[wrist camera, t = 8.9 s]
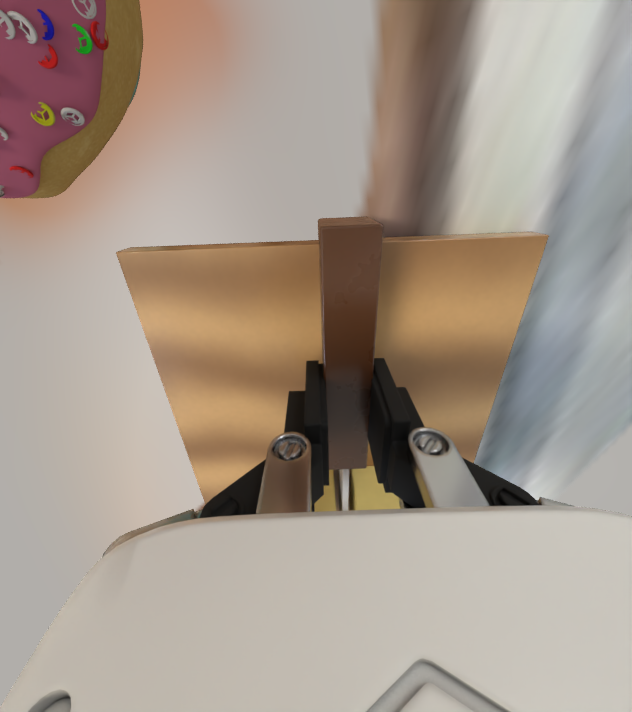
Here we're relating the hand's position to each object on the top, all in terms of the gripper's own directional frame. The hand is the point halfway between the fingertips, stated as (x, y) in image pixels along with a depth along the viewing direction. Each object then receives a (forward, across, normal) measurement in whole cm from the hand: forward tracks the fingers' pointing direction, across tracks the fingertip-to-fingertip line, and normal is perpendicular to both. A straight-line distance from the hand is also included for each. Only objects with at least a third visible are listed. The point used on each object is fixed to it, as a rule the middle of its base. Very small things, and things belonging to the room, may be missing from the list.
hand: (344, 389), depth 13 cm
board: (+2, 0, +5) cm, 6 cm away
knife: (+1, 0, +3) cm, 4 cm away
